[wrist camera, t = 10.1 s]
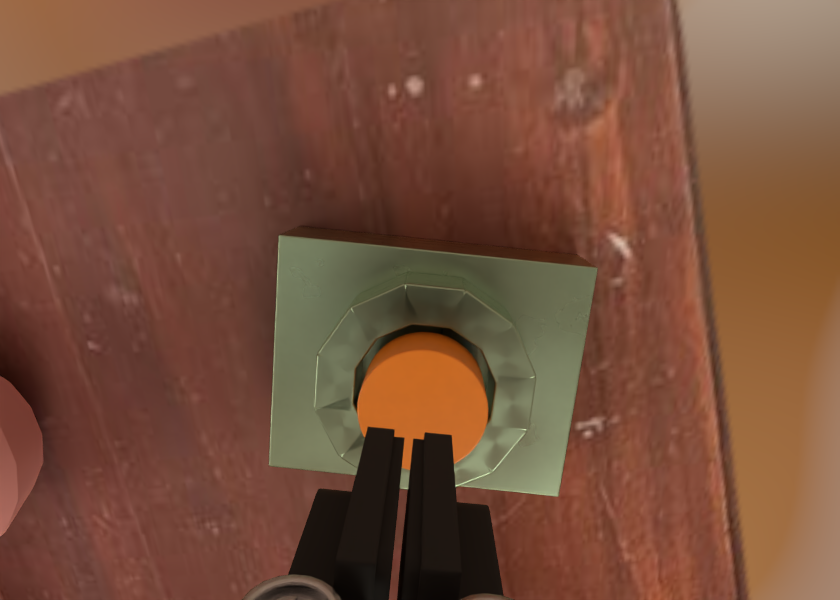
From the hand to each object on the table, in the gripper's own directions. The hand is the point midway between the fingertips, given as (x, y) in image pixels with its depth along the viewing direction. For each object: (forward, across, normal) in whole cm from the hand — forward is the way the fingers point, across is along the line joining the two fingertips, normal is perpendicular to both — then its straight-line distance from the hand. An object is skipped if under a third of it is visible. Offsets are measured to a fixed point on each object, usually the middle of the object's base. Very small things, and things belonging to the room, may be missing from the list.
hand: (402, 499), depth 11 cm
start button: (+6, 0, 0) cm, 6 cm away
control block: (+10, 0, 0) cm, 10 cm away
